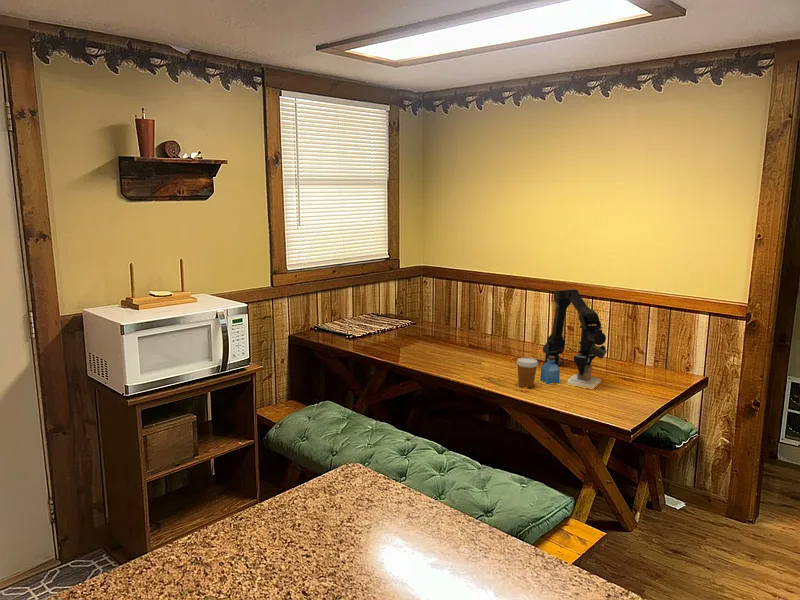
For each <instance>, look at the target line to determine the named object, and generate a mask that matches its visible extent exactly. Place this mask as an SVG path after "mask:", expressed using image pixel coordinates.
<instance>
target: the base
mask: <svg viewBox="0 0 800 600" xmlns="http://www.w3.org/2000/svg"><path fill="white" fill-rule="evenodd" d="M577 375H578V373H576V374H573V375H572V376H571V377H569V379H568V380H567V381H566V385H567V384H571V385H576V386H583V387H590V388H595V387H596V385H598V384H599V382H600V383H601V381H602V380H601V378H598V377H596V376H591V379H590V380H589V381H584V380H578V379H577ZM599 385H600V384H599ZM599 385H598V386H599ZM596 388H597V387H596ZM596 388H595V389H596Z"/></svg>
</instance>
